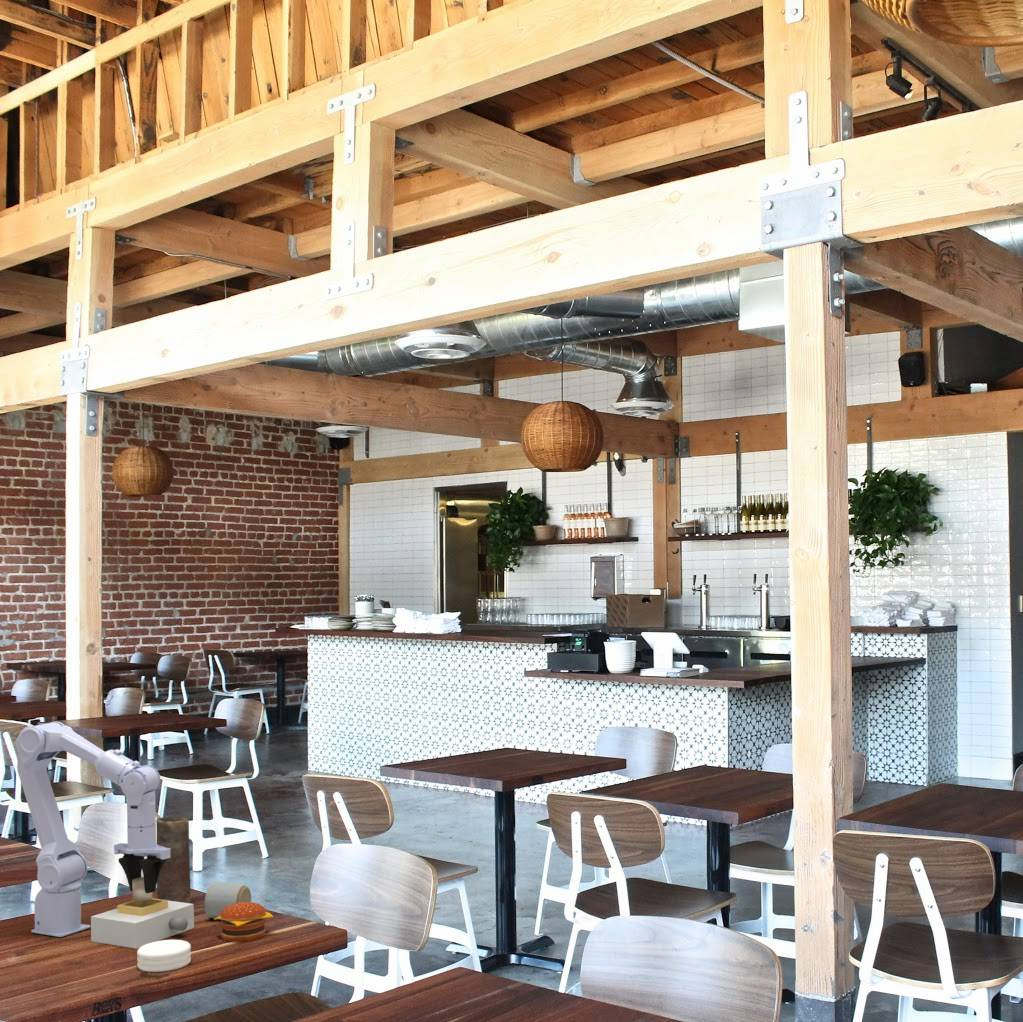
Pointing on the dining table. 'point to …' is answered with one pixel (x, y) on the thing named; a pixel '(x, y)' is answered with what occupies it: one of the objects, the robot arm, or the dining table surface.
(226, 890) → the ceramic mug
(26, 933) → the dining table surface
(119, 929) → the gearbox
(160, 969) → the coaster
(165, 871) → the brown paper bag
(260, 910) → the hamburger
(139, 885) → the cylinder
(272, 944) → the dining table surface
